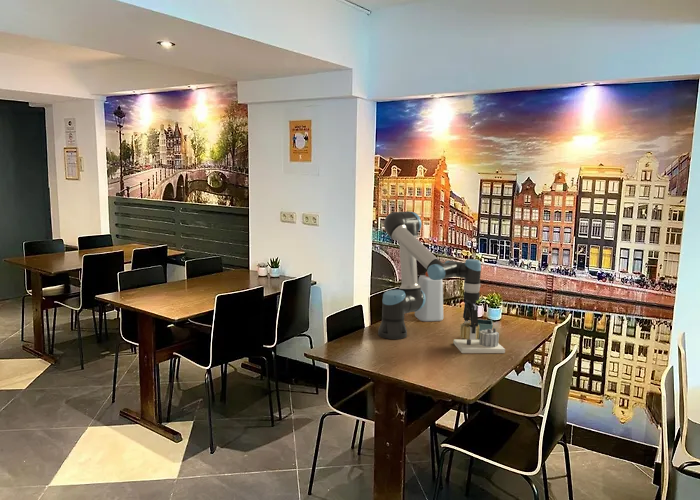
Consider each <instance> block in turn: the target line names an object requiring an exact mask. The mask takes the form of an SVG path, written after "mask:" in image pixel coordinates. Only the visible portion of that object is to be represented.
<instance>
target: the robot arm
mask: <svg viewBox="0 0 700 500" xmlns="http://www.w3.org/2000/svg"><path fill="white" fill-rule="evenodd" d="M383 228H384V231H385V233H386V234H387V236H389V237H390V238H391V239H392V240H394V241H397V242H398V244H399V261H400V277H401V278H400V279H401V285H400V286H399V287H398V289H391V290H390V289H389V290H387V291H385V292H384V293H383V294H382V300H381V301H382V303H381V304H382V306H381V307H382V308H381V309H382V310H381V322H380V325H379V327H378V331H377V332H378V333H377V335H378V336H379V337H380V338H383V339H388V340H401V339H406V338H407V337H408V330H407V327H406V323H405V314H409V313H415V311H418V310H420V309H421V308H422V307H423V306H424V305H425V301H426V297H425V294H424V293H423V291H422V290H421V286H420V285H418V267H417V266H418V264H417V261H418V262H419V263H420V265H422V266H423V267H424V269H426V270H427V271H426V272H427V273H428V276H429V278H430V279H432V280H441V279H442V280H445V279H450V278H461V279H464V280H463V281H464V282H463V300H464V305H463V314H462V319H463V320H464V321H463V323H471V325H470V340H477V339H476V327H477V326H478V319H479V317H478V316H479V313H478V310H479V306H478V305H477V303H476V301H479V300H480V297H481V296H480V295H481V294H480V290H481V287H482V285H481V276H482V275H481V272H482V261H480V260H479V259H473V258H469V259H466V260H465V262H462V261H455V260H446V261H445V262H442V261H441V260H440V259H438V257H436V256H435V255H434V254H433V253H432V251H430V250H429V249H428V248H427V247H426V246H425V245H424V244H423V243H422V242H421V241H420V240H419V239H417V238H418V237H419V234H418V233H419V231H420V230H421V229H422V220H421V217H420V216H419V215H418V214H417V213H416V212H413V211H393V212H390V213H389V214H387V215H386V216H385V218H384V222H383Z"/></svg>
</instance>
